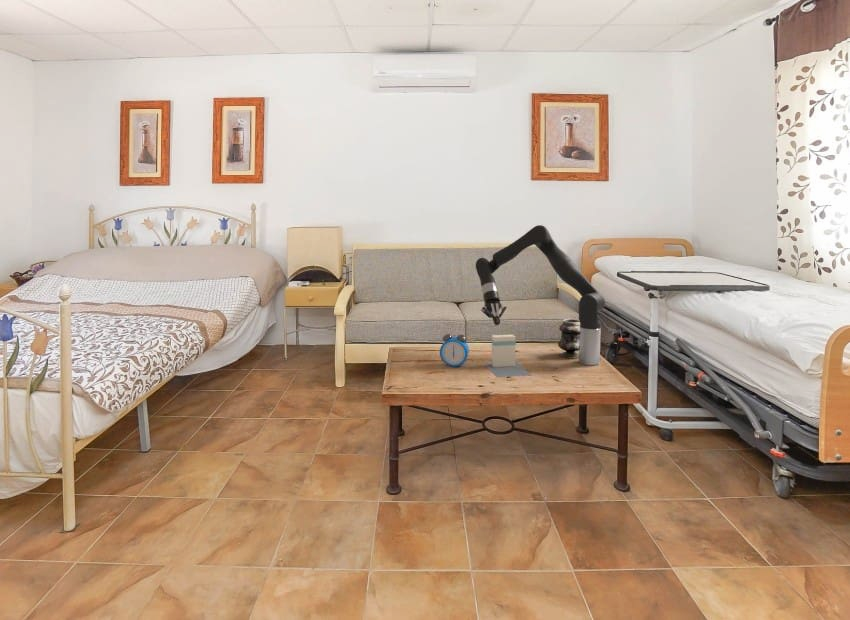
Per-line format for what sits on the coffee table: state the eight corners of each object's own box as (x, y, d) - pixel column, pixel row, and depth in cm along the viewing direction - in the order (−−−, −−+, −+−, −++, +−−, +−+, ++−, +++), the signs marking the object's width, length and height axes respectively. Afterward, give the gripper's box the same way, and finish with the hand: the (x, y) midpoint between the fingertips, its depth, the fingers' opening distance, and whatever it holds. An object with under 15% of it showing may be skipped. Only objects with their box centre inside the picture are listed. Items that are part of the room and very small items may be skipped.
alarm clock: (439, 366, 246) (439, 335, 243) (442, 362, 252) (441, 332, 249) (467, 368, 243) (467, 336, 240) (469, 364, 249) (469, 333, 246)
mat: (483, 364, 249) (483, 363, 249) (516, 362, 251) (516, 361, 251) (496, 378, 228) (496, 377, 228) (532, 376, 230) (532, 375, 230)
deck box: (491, 364, 247) (491, 335, 244) (512, 363, 248) (513, 334, 246) (493, 367, 243) (494, 337, 240) (515, 365, 244) (515, 336, 242)
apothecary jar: (585, 359, 256) (587, 322, 253) (560, 359, 257) (562, 322, 253) (579, 352, 268) (580, 317, 265) (555, 352, 269) (556, 317, 265)
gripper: (500, 298, 265) (507, 328, 256) (475, 298, 262) (482, 328, 253) (505, 289, 259) (513, 320, 250) (479, 289, 255) (486, 320, 247)
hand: (497, 324), depth 251 cm, fingers closed
